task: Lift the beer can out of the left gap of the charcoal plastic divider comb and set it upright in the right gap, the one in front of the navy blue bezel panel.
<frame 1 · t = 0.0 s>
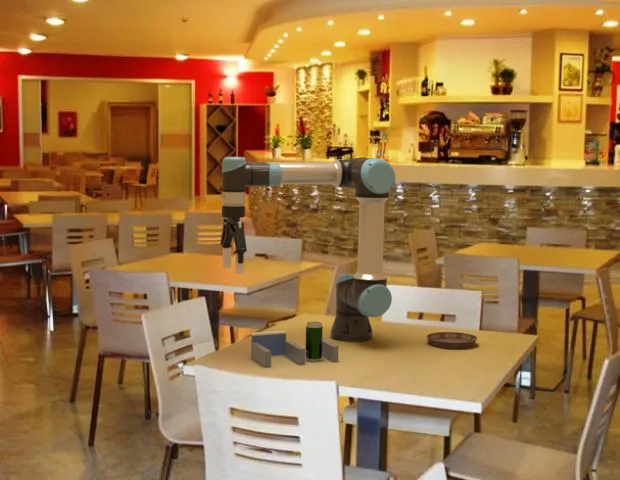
hand: (232, 270, 304), 28 cm above the table, tool pointing down, fingers open, 13 cm apart
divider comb: (294, 359, 303), on the table
beer can: (313, 360, 303), on the table
plant saucer: (451, 345, 329), on the table
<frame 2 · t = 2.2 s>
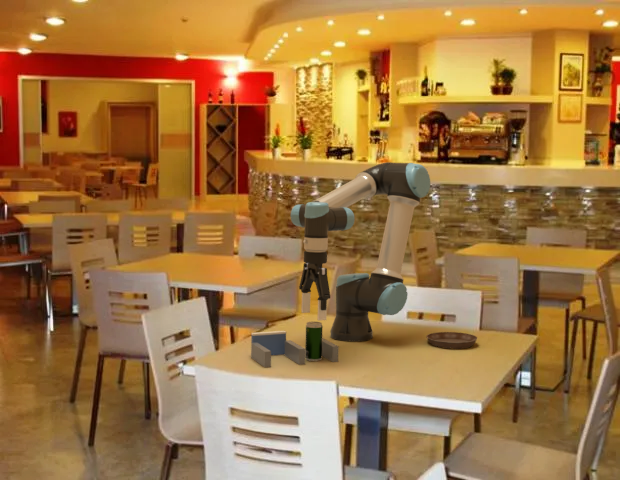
hand: (313, 316, 301), 14 cm above the table, tool pointing down, fingers open, 13 cm apart
nothing on the table moved.
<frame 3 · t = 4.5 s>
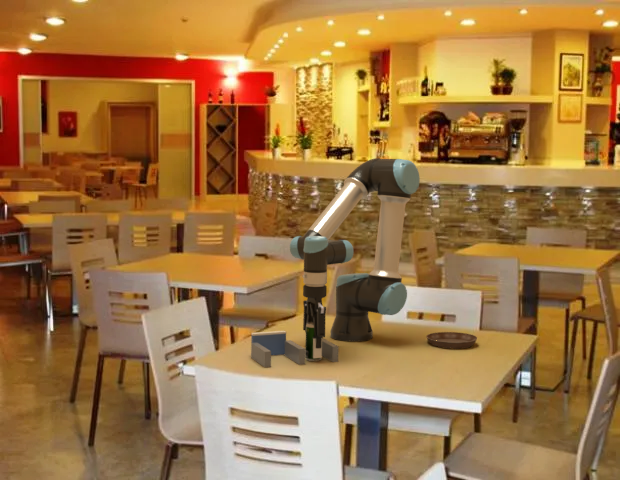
hand: (313, 355, 303), 1 cm above the table, tool pointing down, fingers closed on beer can, 5 cm apart
beer can: (313, 360, 303), on the table, touching gripper
everything else where it was.
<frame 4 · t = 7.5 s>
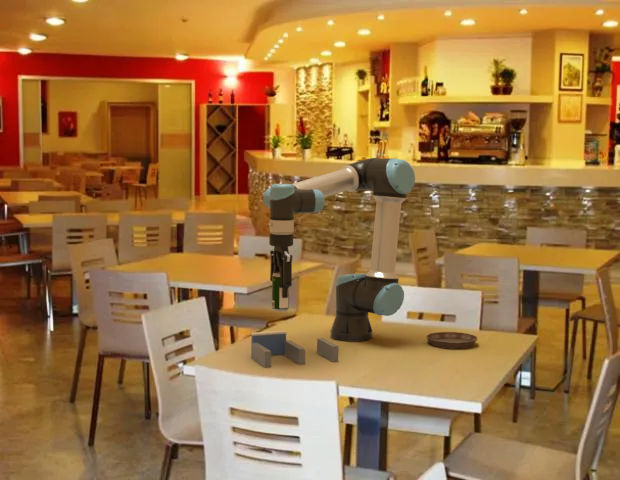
hand: (280, 306, 297), 18 cm above the table, tool pointing down, fingers closed on beer can, 5 cm apart
beer can: (280, 310, 297), point 17 cm above the table, touching gripper
everything else where it was.
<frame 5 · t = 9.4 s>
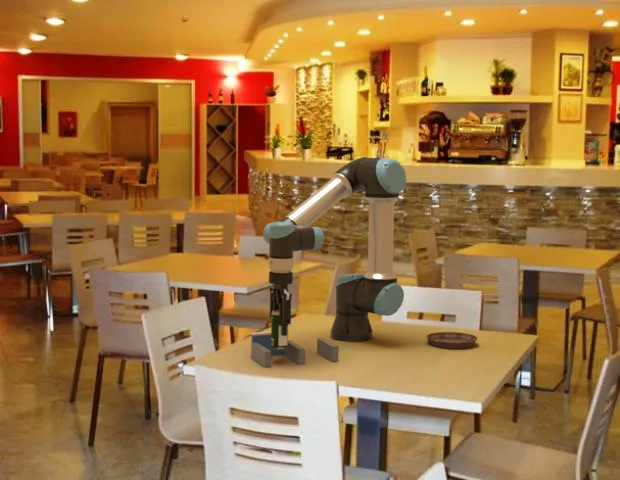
hand: (279, 343, 298), 6 cm above the table, tool pointing down, fingers closed on beer can, 5 cm apart
beer can: (279, 348, 298), point 4 cm above the table, touching gripper
everything else where it was.
when the fingers open (3 cm above the table, at t = 10.9 s): beer can drops 1 cm, on the table.
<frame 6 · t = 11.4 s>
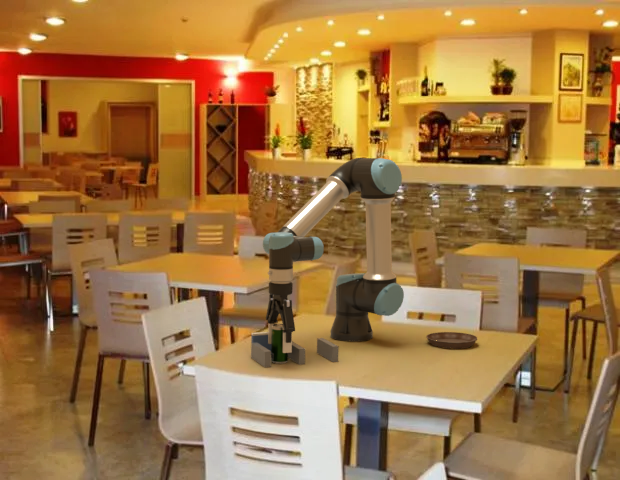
hand: (279, 348, 298), 5 cm above the table, tool pointing down, fingers open, 13 cm apart
beer can: (279, 362, 299), on the table
everything else where it was.
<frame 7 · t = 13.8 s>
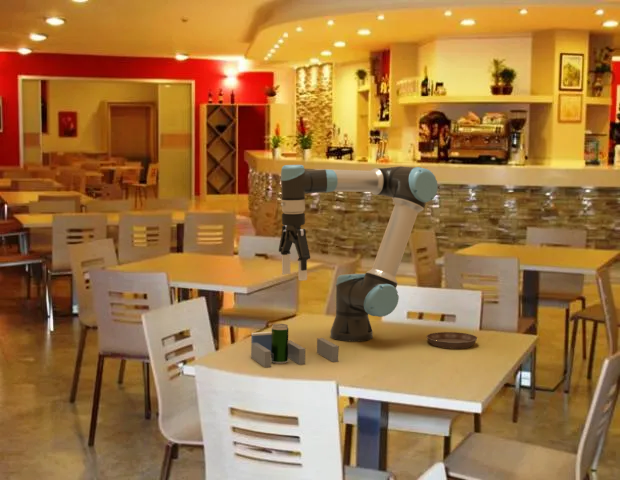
hand: (294, 277, 307), 26 cm above the table, tool pointing down, fingers open, 13 cm apart
nothing on the table moved.
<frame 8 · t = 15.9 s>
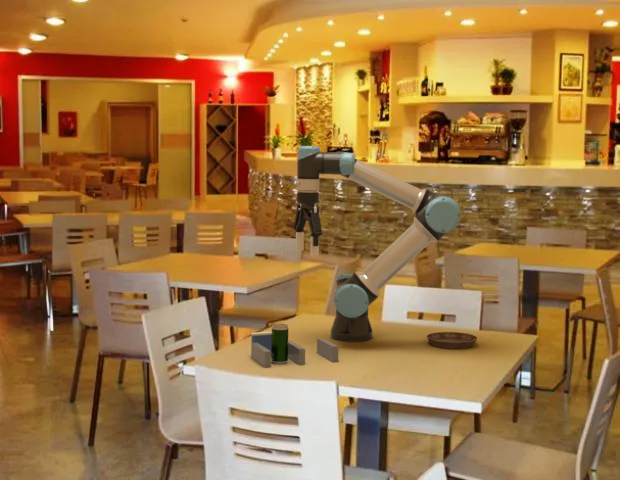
hand: (306, 253, 322), 32 cm above the table, tool pointing down, fingers open, 13 cm apart
nothing on the table moved.
at the end: beer can inside the target area (0.1 cm from its centre), on the table; beer can tilted 0°; the gripper is holding nothing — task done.
